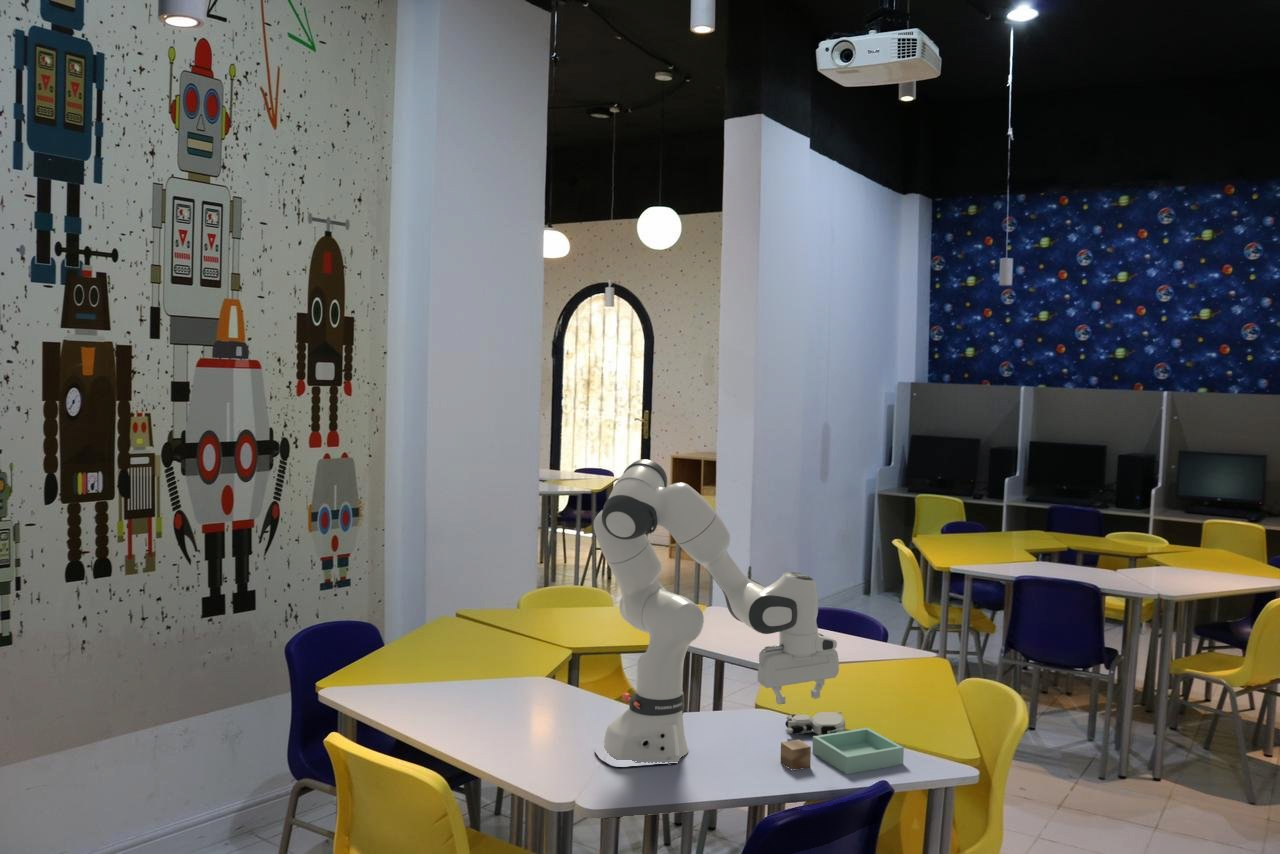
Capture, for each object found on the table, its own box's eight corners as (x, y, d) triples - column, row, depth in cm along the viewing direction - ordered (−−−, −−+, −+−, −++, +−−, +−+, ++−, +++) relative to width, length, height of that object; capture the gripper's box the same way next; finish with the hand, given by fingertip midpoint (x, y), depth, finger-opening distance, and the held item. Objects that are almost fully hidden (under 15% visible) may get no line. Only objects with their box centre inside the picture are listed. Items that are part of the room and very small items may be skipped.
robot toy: (785, 743, 253) (846, 743, 251) (784, 725, 253) (845, 725, 251) (786, 726, 265) (844, 726, 263) (785, 709, 265) (843, 709, 263)
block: (791, 771, 234) (792, 749, 233) (780, 763, 238) (780, 742, 238) (810, 767, 236) (810, 746, 235) (798, 760, 240) (799, 739, 240)
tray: (846, 774, 232) (846, 757, 232) (812, 752, 245) (812, 736, 245) (903, 764, 238) (903, 747, 238) (867, 743, 251) (867, 727, 251)
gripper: (766, 651, 228) (766, 711, 229) (842, 640, 236) (842, 698, 237) (752, 644, 234) (752, 702, 235) (827, 633, 242) (827, 690, 243)
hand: (798, 700), depth 236 cm, fingers open, 8 cm apart
